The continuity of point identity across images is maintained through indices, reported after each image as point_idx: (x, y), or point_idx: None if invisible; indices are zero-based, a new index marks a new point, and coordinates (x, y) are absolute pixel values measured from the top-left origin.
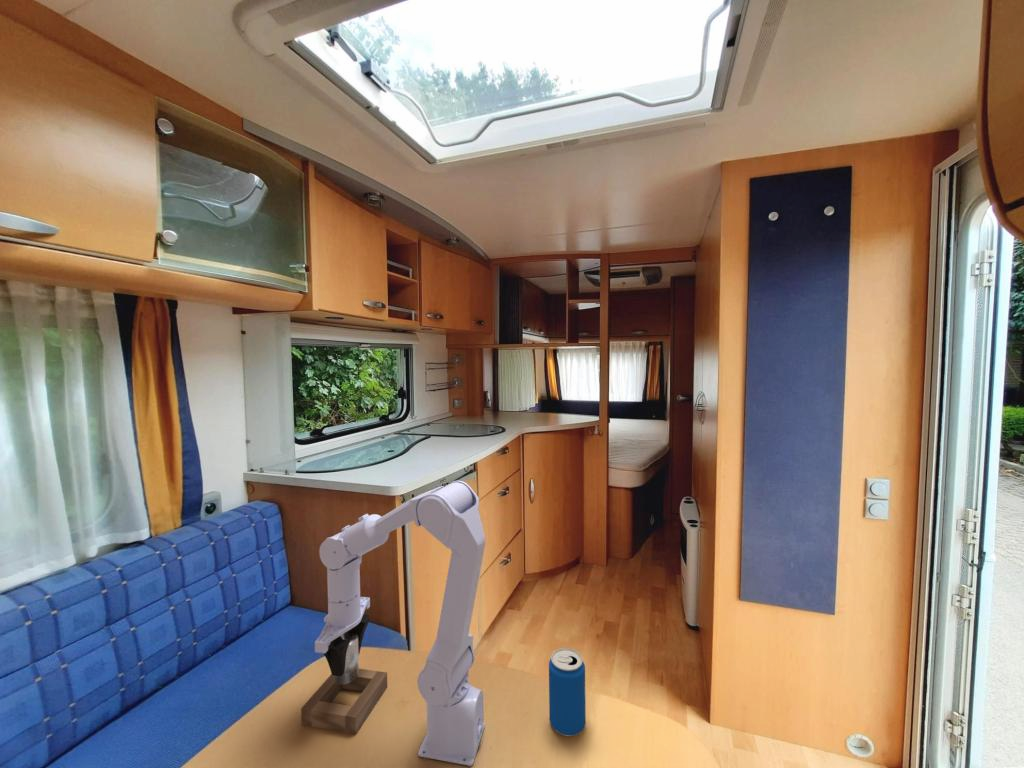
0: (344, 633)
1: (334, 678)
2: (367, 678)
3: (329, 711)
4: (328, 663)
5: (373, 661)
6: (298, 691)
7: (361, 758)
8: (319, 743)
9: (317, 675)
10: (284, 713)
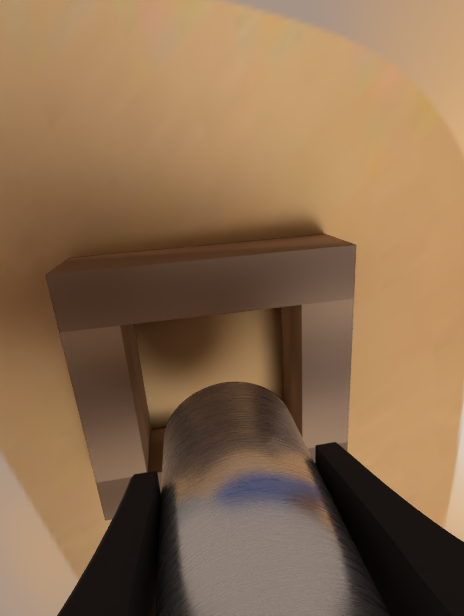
0: (425, 585)
1: (175, 419)
2: (302, 428)
3: (87, 414)
4: (97, 551)
5: (442, 306)
6: (219, 78)
7: (53, 532)
8: (35, 386)
9: (334, 99)
10: (85, 121)
